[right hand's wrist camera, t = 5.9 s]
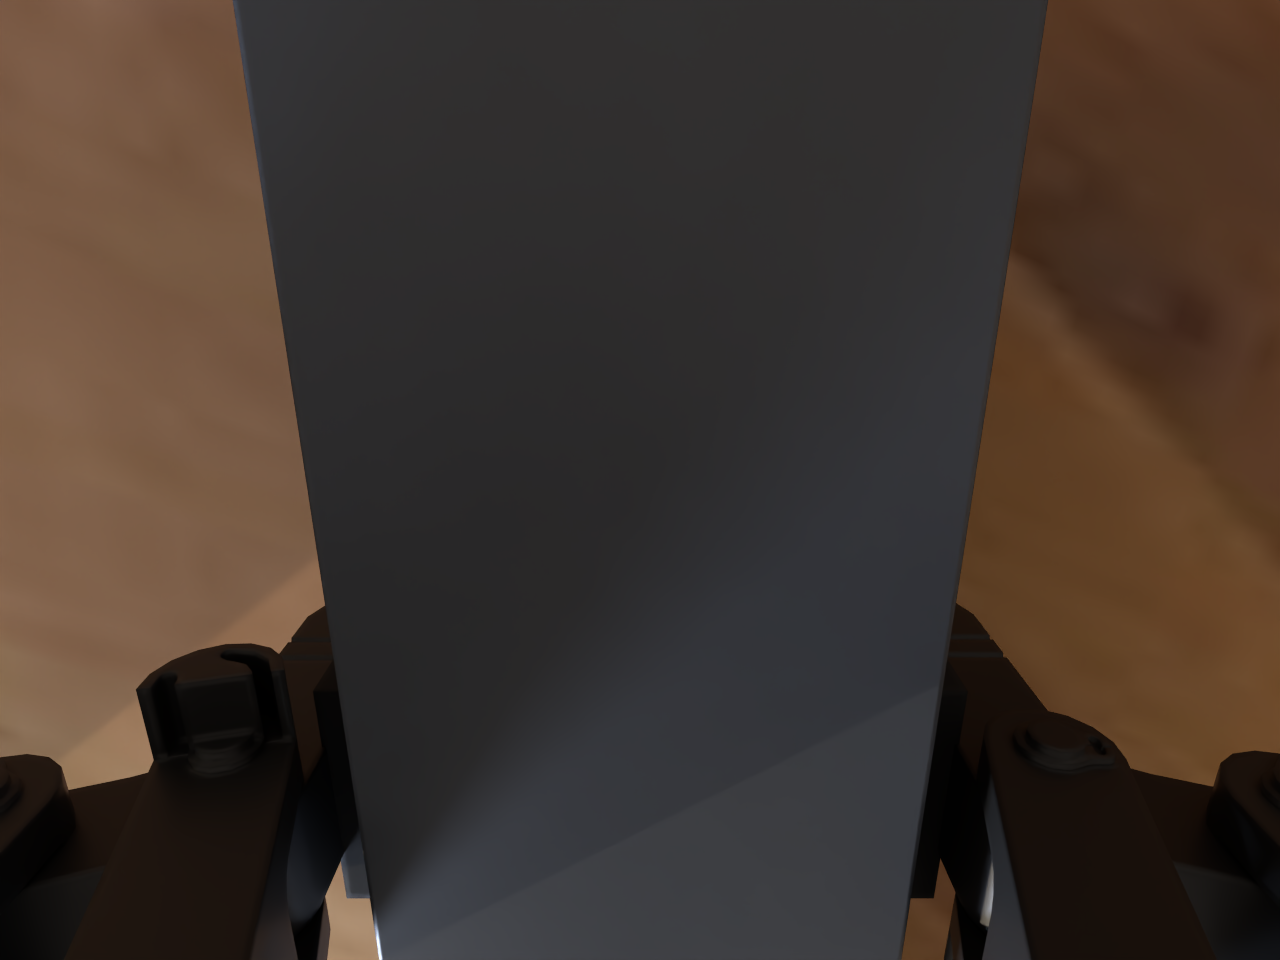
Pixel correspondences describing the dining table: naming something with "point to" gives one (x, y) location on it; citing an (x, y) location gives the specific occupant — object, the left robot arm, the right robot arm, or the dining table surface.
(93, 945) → the right robot arm
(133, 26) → the dining table surface
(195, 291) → the dining table surface
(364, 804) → the beam
